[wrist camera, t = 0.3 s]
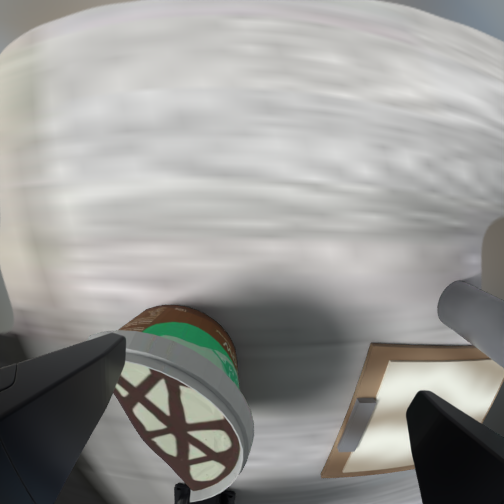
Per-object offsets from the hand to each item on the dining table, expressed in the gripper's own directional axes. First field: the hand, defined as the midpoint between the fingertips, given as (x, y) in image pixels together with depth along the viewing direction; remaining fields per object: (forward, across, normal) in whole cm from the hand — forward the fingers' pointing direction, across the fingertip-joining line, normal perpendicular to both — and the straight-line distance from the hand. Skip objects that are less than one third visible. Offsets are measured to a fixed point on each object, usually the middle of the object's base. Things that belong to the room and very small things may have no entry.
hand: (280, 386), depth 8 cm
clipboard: (+14, -20, +12) cm, 27 cm away
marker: (+15, -17, +1) cm, 22 cm away
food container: (+14, +3, +8) cm, 16 cm away
